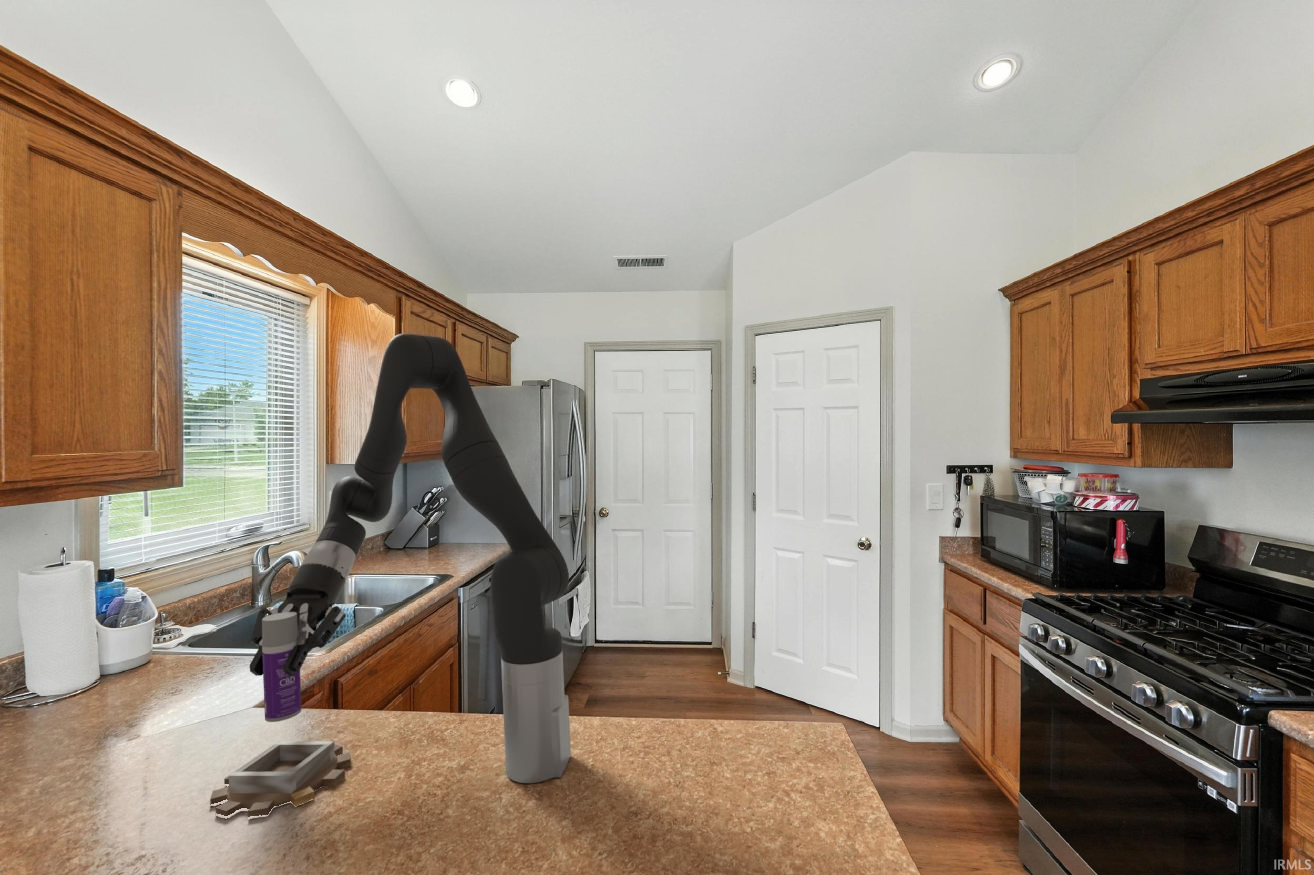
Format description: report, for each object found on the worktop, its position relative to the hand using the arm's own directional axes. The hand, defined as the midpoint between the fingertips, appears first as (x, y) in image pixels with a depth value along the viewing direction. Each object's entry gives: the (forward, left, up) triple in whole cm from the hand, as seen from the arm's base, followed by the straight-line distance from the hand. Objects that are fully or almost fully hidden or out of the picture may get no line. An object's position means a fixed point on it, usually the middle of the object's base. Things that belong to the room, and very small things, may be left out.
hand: (272, 672), depth 84 cm
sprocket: (0, -2, -17) cm, 17 cm away
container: (0, -2, -7) cm, 8 cm away
